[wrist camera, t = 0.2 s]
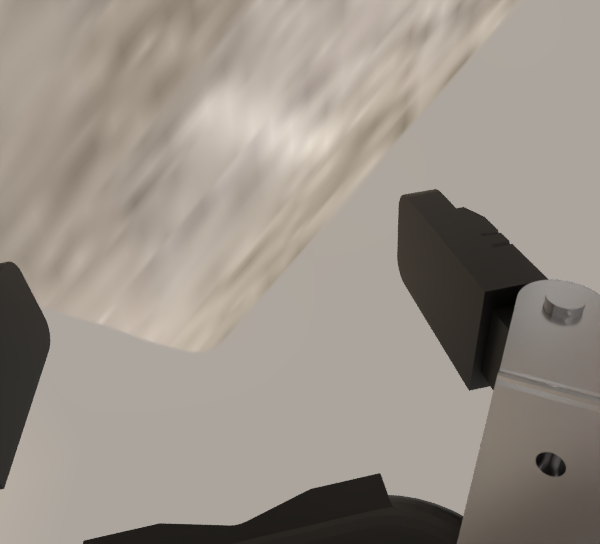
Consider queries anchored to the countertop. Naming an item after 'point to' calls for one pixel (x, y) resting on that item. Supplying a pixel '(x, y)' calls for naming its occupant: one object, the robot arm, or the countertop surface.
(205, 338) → the countertop surface
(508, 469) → the robot arm
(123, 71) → the countertop surface
